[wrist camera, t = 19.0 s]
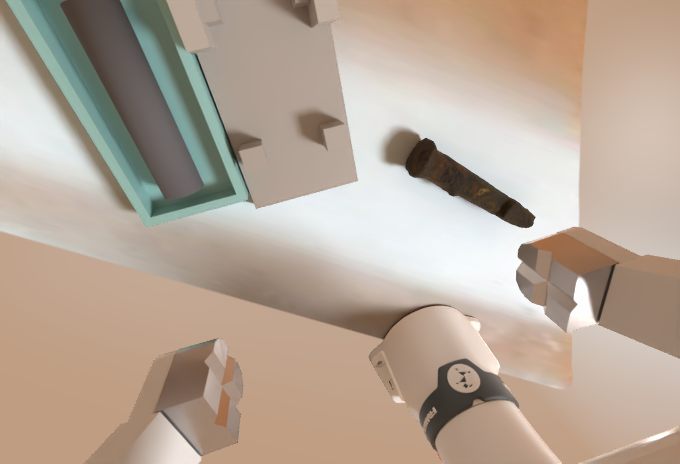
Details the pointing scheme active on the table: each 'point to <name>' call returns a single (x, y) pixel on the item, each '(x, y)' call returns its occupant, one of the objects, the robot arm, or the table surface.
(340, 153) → the cradle
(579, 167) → the table surface
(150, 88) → the dark grey cylinder
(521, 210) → the hand tool
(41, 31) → the tray
